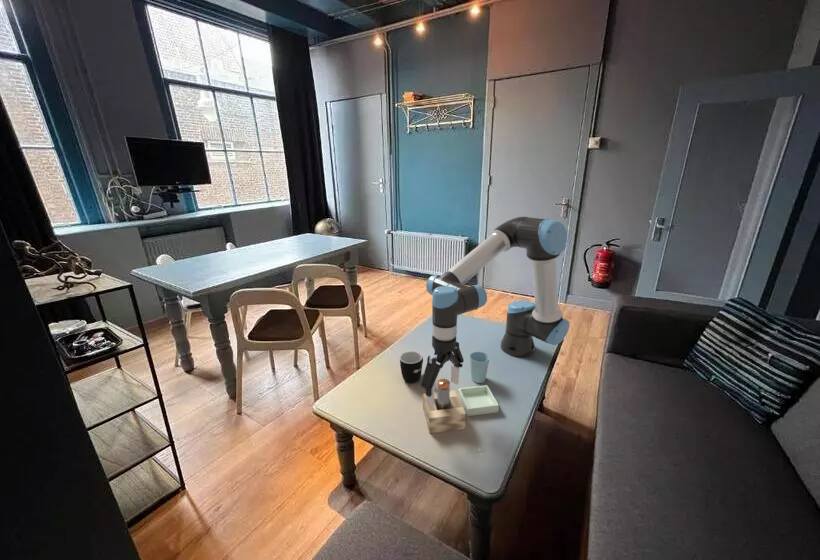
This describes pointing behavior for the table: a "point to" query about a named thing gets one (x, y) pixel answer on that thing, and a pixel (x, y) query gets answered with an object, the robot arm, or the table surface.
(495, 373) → the table surface
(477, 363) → the cup
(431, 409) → the eye block
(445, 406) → the peg
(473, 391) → the tray
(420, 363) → the mug
